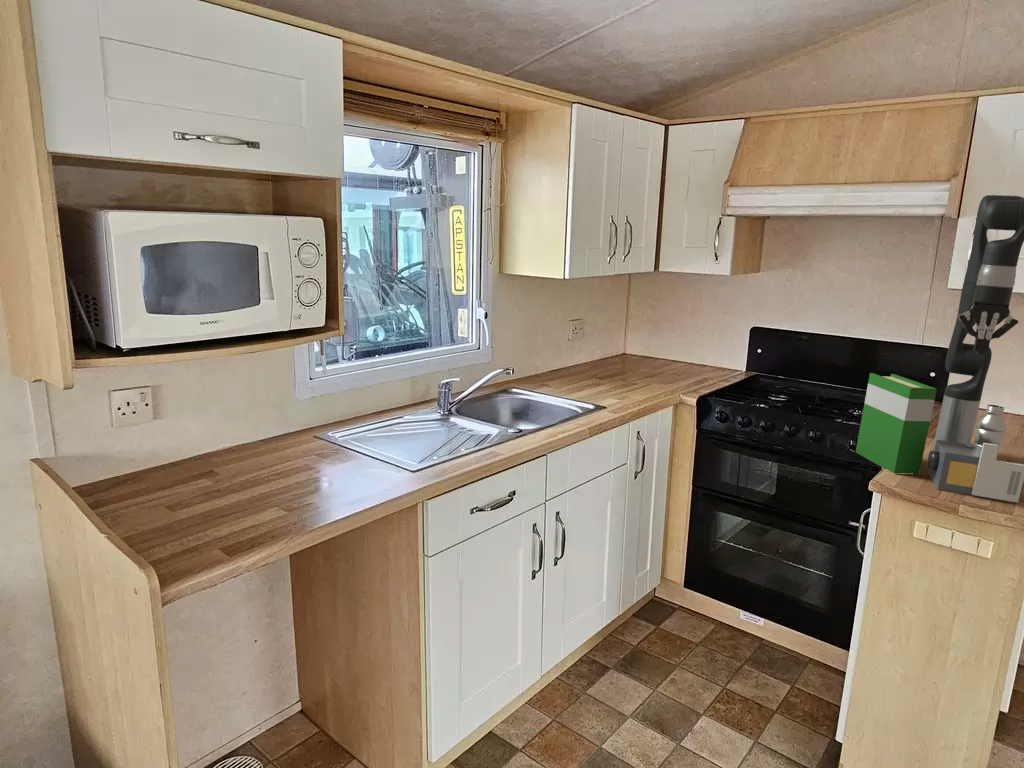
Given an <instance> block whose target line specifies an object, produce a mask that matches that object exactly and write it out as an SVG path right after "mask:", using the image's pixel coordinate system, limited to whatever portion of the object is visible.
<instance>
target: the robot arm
mask: <svg viewBox="0 0 1024 768" xmlns="http://www.w3.org/2000/svg"><path fill="white" fill-rule="evenodd" d="M988 230H992V231H993V230H995V231H1013V232H1014V231H1015V232H1014V233H1013V235H1012V236H1011V237H1008V238H1003V239H996V240H995V239H994V240H990V241H989V240H988ZM973 232H974V233H973V239H972V245H971V250H970V256H969V260H968V263H967V267H966V272H965V276H964V279H963V282H962V288H961V293H960V299H959V304H958V311H957V315H956V316H957V317H956V320H955V323H954V328H953V331H952V335H951V338H950V341H949V344H948V345H949V346H948V349H947V353H946V357H945V361H944V362H945V363H944V368H945V371H946V372H947V373H949V374H950V373H951V374H956V375H963V376H971V378H970V379H968V380H965V381H964V382H960V383H959V382H958V383H954V384H953V383H952V384H949V385H946V387H945V389H944V394H943V399H942V404H941V409H940V413H939V419H938V422H937V423H938V424H937V427H936V432H935V436H934V442H933V446H932V450H933V451H934V450H935V445H936V440H942V441H949V442H955V443H962V444H966V443H970V444H972V440H973V436H974V432H975V428H976V424H977V419H978V414H979V408H980V404H981V401H982V395H983V390H984V385H985V382H986V379H987V376H988V373H989V372H988V371H989V368H990V365H991V361H992V355H993V353H992V352H993V351H992V348H991V347H990V343H991V340H993V339H1000V338H1001V337H1002V336H1003V335H1005V334H1006V333H1007V332H1009V331H1010V330H1011V329H1012V328H1014V327H1015V326H1016V325H1017V324H1019V320H1018V319H1016V318H1014V317H1013V316H1012V315H1011V311H1010V303H1011V299H1012V294H1013V289H1014V286H1015V283H1016V275H1017V267H1018V263H1019V258H1020V253H1021V251H1022V250H1021V249H1022V247H1023V245H1024V196H1019V195H1002V194H1000V195H997V194H996V195H994V194H991V195H989V194H988V195H985V196H983V197H982V198H981V200H980V202H979V205H978V208H977V213H976V218H975V225H974V231H973ZM1002 322H1003V324H1002V325H1001V326H1000V327H999V328H997V329H996V327H997V326H999V324H1001V323H1002ZM973 327H975V329H976V330H975V329H974V328H973ZM995 329H996V330H995ZM967 335H970V337H974V338H975V340H974V344H973V343H965V342H964V341H965V339H966V337H967Z"/></svg>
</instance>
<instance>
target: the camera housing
mask: <svg viewBox="0 0 1024 768" xmlns="http://www.w3.org/2000/svg"><path fill="white" fill-rule="evenodd" d="M981 450H982V448H981V447H980V446H976V445H975V443H974V444H973V443H971V444H970V443H966V444H962V443H955V442H949V441H942V440H936V445H935V450H934V449H933V450H930V451H929V452H928V456H927V464H926V465H927V470H929V474H928V475H929V477H930V478H931V481H932V482H933V484H934V485H935V487H936V489H937V490H939V491H940V490H941V491H947V492H950V493H957V494H962V495H967V496H968V495H969V496H973V497H974V496H976V495H972V490H973V485H974V481H975V477H976V472H977V468H978V464H979V459H980V455H981ZM976 497H977V496H976ZM979 497H980V498H983V497H982V496H979Z"/></svg>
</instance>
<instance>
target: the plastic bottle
mask: <svg viewBox="0 0 1024 768" xmlns="http://www.w3.org/2000/svg"><path fill="white" fill-rule="evenodd" d="M986 406H987V407H986V409H985V412H986V414H984V415H983V416H981V417H980V418H979V419H978V420H977V421H976V431H975V432H976V433H975V440H974V445H976V446H980V447H981V448H982V446H983V443H989V444H996V445H998V451H997V455H996V459H995V460H997V461H998V453H999V449H1000V446H1001V443H1002V441H1003V438H1004V435H1005V433H1006V431H1007V423H1006V422H1005V419H1004V418H1003V416H1002V415H1004V414H1005V413H1004V412H1005V411H1004V410H1005V407H1004V406H1001V405H997V404H987V405H986Z"/></svg>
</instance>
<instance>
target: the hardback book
mask: <svg viewBox="0 0 1024 768" xmlns="http://www.w3.org/2000/svg"><path fill="white" fill-rule="evenodd" d="M936 395H937V388H936V387H934V386H929V385H926V384H924V383H921V382H918V381H915V380H912V379H910V378H906V377H904V376H900V375H898V374H895V373H890V376H886V375H885V376H884V375H883V376H881V375H879V374H877V373H873V372H869V376H868V382H867V387H866V394H865V398H864V405H863V410H862V415H861V421H860V425H859V430H858V436H857V443H856V448H855V453H856V454H858V455H859V456H861V457H862V458H865V459H866V460H869V461H870V462H872V463H873V464H876V465H878V467H881V468H882V469H885V470H886V469H888V470H890V471H891V472H893V473H913V474H912V475H920V473H921V466H922V462H923V456H924V454H925V453H924V451H925V448H926V443H927V438H928V433H929V429H930V424H931V419H932V415H933V409H934V406H935V405H934V404H935V399H936ZM888 470H887V471H888ZM890 471H889V472H890ZM891 472H890V473H891ZM893 473H892V474H893Z"/></svg>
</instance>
